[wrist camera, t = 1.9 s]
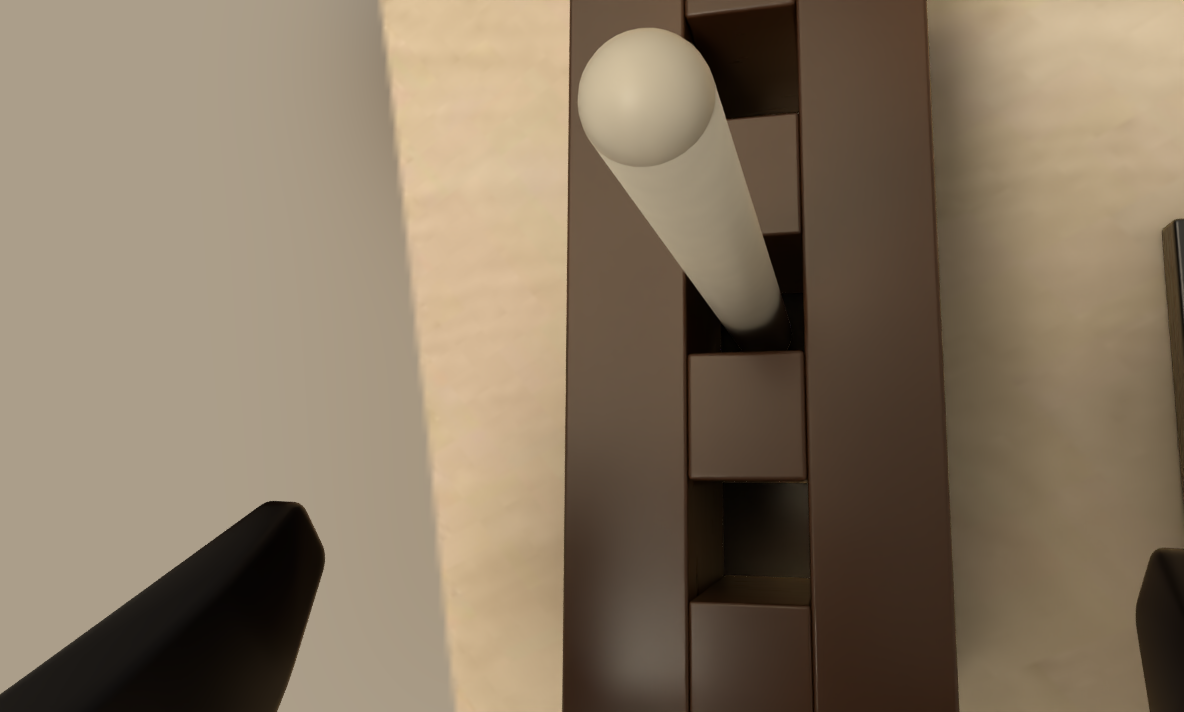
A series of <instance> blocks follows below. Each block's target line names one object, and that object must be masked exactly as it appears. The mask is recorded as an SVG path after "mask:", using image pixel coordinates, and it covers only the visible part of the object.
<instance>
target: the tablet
mask: <svg viewBox="0 0 1184 712" xmlns="http://www.w3.org/2000/svg"><path fill="white" fill-rule="evenodd" d="M1162 240H1163V252H1164V265H1165V277H1166V290H1167V302H1168V315H1169V327H1170V340H1171V352H1172V365H1173V377H1174V390H1175V402H1176V415H1177V427H1178V440H1179V452H1180V465H1181V477H1182V490H1183V502H1184V219H1176V220H1173V221H1172V222H1171V223H1170V224H1168V225H1167V226H1166V227H1165V228H1163V230H1162Z"/></svg>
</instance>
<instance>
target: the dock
mask: <svg viewBox="0 0 1184 712" xmlns="http://www.w3.org/2000/svg"><path fill="white" fill-rule="evenodd" d="M638 28H658V29H664V30H667V31H670V32H672V33H675V34H677V35H679V36H680V37H682V38H683V39H685V40H686V41H688V42H690V43H691V44H692V45H693V46H694V47H695V48H696V49H697V50H698V51H699V52H700V53H701V55H702V57H703V58H704V60H705V61H706V63H707V65H708V66H709V68H710V71H711V73H712V76H713V79H714V82H715V85H716V88H717V92H718V95H719V98H720V101H721V104H722V107H723V111H724V114H725V117H726V118H734V119H726V120H727V123H728V127H729V130H730V133H731V136H732V139H733V143H734V146H735V149H736V152H737V155H738V159H739V162H740V165H741V168H742V171H743V174H744V178H745V181H746V184H747V187H748V190H749V194H750V197H751V200H752V203H753V206H754V210H755V213H756V216H757V219H758V222H759V226H760V229H761V232H762V235H763V238H764V241H765V245H766V248H767V251H768V254H769V257H770V261H771V264H772V267H773V270H774V273H775V277H776V280H777V283H778V286H779V289H780V293H799V292H803V307H804V347H805V354H804V352H803V351H801V350H785V351H752V352H721V321H720V320H719V319H718V317H717V316H716V315H715V313H714V312H713V310H712V309H711V308H710V306H709V305H708V303H707V302H706V301H705V299H704V298H703V297H702V295H701V294H700V292H699V291H698V290H697V288H696V287H695V286H694V284H693V283H692V281H691V280H690V279H689V277H688V276H687V274H686V273H685V272H684V270H683V269H682V268H681V266H680V265H679V263H678V262H677V261H676V259H675V258H674V257H673V255H672V254H671V252H670V251H669V250H668V248H667V247H666V246H665V244H664V243H663V241H662V240H661V239H660V237H659V236H658V234H657V233H656V232H655V230H654V229H653V228H652V226H651V225H650V223H649V222H648V221H647V219H646V218H645V217H644V215H643V214H642V212H641V211H640V210H639V208H638V207H637V205H636V204H635V203H634V201H633V200H632V199H631V197H630V196H629V194H628V193H627V192H626V190H625V189H624V188H623V186H622V185H621V183H620V182H619V181H618V179H617V178H616V176H615V175H614V174H613V172H612V171H611V170H610V168H609V167H608V165H607V164H606V163H605V161H604V160H603V159H602V157H601V156H600V154H599V153H598V152H597V150H596V149H595V147H594V146H593V145H592V143H591V142H590V140H589V139H588V137H587V135H586V133H585V131H584V129H583V127H582V124H581V120H580V117H579V112H578V90H579V83H580V80H581V77H582V73H583V71H584V69H585V67H586V65H587V63H588V61H589V60H590V59H591V57H592V56H593V55H594V54H595V52H596V51H597V50H598V49H599V48H600V47H601V46H602V45H603V44H604V43H605V42H607V41H608V40H610V39H611V38H613V37H615V36H616V35H618V34H621V33H623V32H626V31H629V30H634V29H638ZM789 112H799V115H798V113H789ZM778 113H788V114H778ZM767 114H777V115H767ZM757 115H767V116H757ZM746 116H756V117H746ZM735 117H745V118H735ZM723 482H726V483H808V507H809V547H810V578H804V577H771V576H738V575H726V576H724V542H723ZM562 712H959V692H958V670H957V648H956V626H955V605H954V583H953V561H952V539H951V517H950V495H949V473H948V452H947V430H946V408H945V386H944V364H943V342H942V320H941V299H940V277H939V255H938V233H937V211H936V189H935V167H934V146H933V124H932V102H931V80H930V58H929V36H928V14H927V0H570V47H569V139H568V232H567V324H566V417H565V509H564V602H563V694H562Z"/></svg>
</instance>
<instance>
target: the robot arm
mask: <svg viewBox="0 0 1184 712" xmlns="http://www.w3.org/2000/svg"><path fill="white" fill-rule="evenodd" d="M324 564H325V553H324V548H323V545H322V543H321V541H320V539H319V537H318V534H317V532H316V530H315V528H314V526H313V524H312V522H311V520H310V518H309V516H308V513H307V512H306V510H305V508H304V507H303V506H302V505H300V504H299V503H296V502H282V501H270V502H266V503H264V504H262V505H261V506H259V507H258V508H256V509H255V510H254V511H252V512H251V513H249V514H248V515H247V516H245V517H244V518H242V519H241V520H240V521H238V522H237V523H236V524H234V525H233V526H231V528H229V529H227V530H226V531H225V532H223V533H222V534H220V535H219V536H218V537H216V538H215V539H214V540H213V541H211V542H210V543H208V544H207V545H205V546H204V547H203V548H201V549H200V550H198V551H197V552H196V553H194V554H193V555H192V556H190V557H189V558H188V559H186V560H185V561H183V562H182V563H181V564H179V565H178V566H176V567H175V568H174V569H172V570H171V571H170V572H168V573H167V574H165V575H164V576H163V577H161V578H160V579H159V580H157V581H156V582H154V583H153V584H152V585H150V586H149V587H148V588H146V589H145V590H144V591H142V592H141V593H139V594H138V595H137V596H135V597H134V598H132V599H131V600H130V601H128V602H127V603H126V604H124V605H123V606H121V607H120V608H119V609H117V610H116V611H114V612H113V613H112V614H111V615H109V616H108V617H106V618H105V619H104V620H102V621H101V622H99V623H98V624H97V625H95V626H94V627H92V628H91V629H90V630H88V631H87V632H86V633H84V634H83V635H81V636H80V637H79V638H77V639H76V640H75V641H73V642H72V643H70V644H69V645H68V646H66V647H65V648H64V649H62V650H61V651H59V652H58V653H57V654H55V655H54V656H53V657H51V658H50V659H48V660H47V661H46V662H44V663H43V664H42V665H40V666H39V667H37V668H36V669H35V670H33V671H32V672H31V673H29V674H28V675H27V676H25V677H24V678H22V679H21V680H19V681H18V682H17V683H15V684H14V685H13V686H11V687H10V688H8V689H7V690H6V691H4V692H3V693H1V694H0V712H277V710H278V708H279V705H280V703H281V700H282V698H283V695H284V693H285V690H286V687H287V685H288V682H289V679H290V676H291V673H292V670H293V667H294V664H295V661H296V658H297V655H298V651H299V648H300V645H301V641H302V638H303V635H304V632H305V628H306V625H307V622H308V619H309V615H310V612H311V609H312V606H313V602H314V599H315V596H316V592H317V589H318V586H319V582H320V579H321V576H322V573H323V569H324ZM1136 628H1137V634H1138V640H1139V647H1140V653H1141V659H1142V665H1143V672H1144V678H1145V684H1146V690H1147V696H1148V703H1149V709H1150V712H1184V549H1175V548H1159V549H1157V550H1155V551H1154V552H1153V553H1152V555H1151V557H1150V560H1149V563H1148V566H1147V570H1146V573H1145V576H1144V580H1143V583H1142V587H1141V590H1140V593H1139V597H1138V600H1137V604H1136Z"/></svg>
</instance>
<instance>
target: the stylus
mask: <svg viewBox="0 0 1184 712" xmlns="http://www.w3.org/2000/svg"><path fill="white" fill-rule="evenodd" d="M578 112H579V117H580V120H581V124H582V127H583V129H584V131H585V133H586V135H587V137H588V139H589V140H590V142H591V143H592V145H593V146H594V147H595V149H596V150H597V152H598V153H599V154H600V156H601V157H602V159H603V160H604V161H605V163H606V164H607V165H608V167H609V168H610V170H611V171H612V172H613V174H614V175H615V176H616V178H617V179H618V181H619V182H620V183H621V185H622V186H623V188H624V189H625V190H626V192H627V193H628V194H629V196H630V197H631V199H632V200H633V201H634V203H635V204H636V205H637V207H638V208H639V210H640V211H641V212H642V214H643V215H644V217H645V218H646V219H647V221H648V222H649V223H650V225H651V226H652V228H653V229H654V230H655V232H656V233H657V234H658V236H659V237H660V239H661V240H662V241H663V243H664V244H665V246H666V247H667V248H668V250H669V251H670V252H671V254H672V255H673V257H674V258H675V259H676V261H677V262H678V263H679V265H680V266H681V268H682V269H683V270H684V272H685V273H686V274H687V276H688V277H689V279H690V280H691V281H692V283H693V284H694V286H695V287H696V288H697V290H698V291H699V292H700V294H701V295H702V297H703V298H704V299H705V301H706V302H707V303H708V305H709V306H710V308H711V309H712V310H713V312H714V313H715V315H716V316H717V317H718V319H719V320H720V321H721V323H722V324H723V326H724V327H725V328H726V330H727V331H728V332H729V334H730V335H731V337H732V338H733V339H734V341H735V342H736V344H737V345H738V346H739V348H740V349H741V350H742V352H752V351H785V350H787V349H788V347H789V345H790V343H791V340H792V328H791V324H790V321H789V318H788V315H787V312H786V308H785V305H784V302H783V299H782V296H781V293H780V289H779V286H778V283H777V280H776V277H775V273H774V270H773V267H772V264H771V261H770V257H769V254H768V251H767V248H766V245H765V241H764V238H763V235H762V232H761V229H760V226H759V222H758V219H757V216H756V213H755V210H754V206H753V203H752V200H751V197H750V194H749V190H748V187H747V184H746V181H745V178H744V174H743V171H742V168H741V165H740V162H739V159H738V155H737V152H736V149H735V146H734V143H733V139H732V136H731V133H730V130H729V127H728V123H727V120H726V117H725V114H724V111H723V107H722V104H721V101H720V98H719V95H718V92H717V88H716V85H715V82H714V79H713V76H712V73H711V71H710V68H709V66H708V65H707V63H706V61H705V60H704V58H703V57H702V55H701V53H700V52H699V51H698V50H697V49H696V48H695V47H694V46H693V45H692V44H691V43H690V42H688V41H686V40H685V39H683V38H682V37H680V36H679V35H677V34H675V33H672V32H670V31H667V30H664V29H658V28H638V29H634V30H629V31H626V32H623V33H621V34H618V35H616V36H615V37H613V38H611V39H610V40H608V41H607V42H605V43H604V44H603V45H602V46H601V47H600V48H599V49H598V50H597V51H596V52H595V54H594V55H593V56H592V57H591V59H590V60H589V61H588V63H587V65H586V67H585V69H584V71H583V73H582V77H581V80H580V83H579V90H578Z"/></svg>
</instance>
